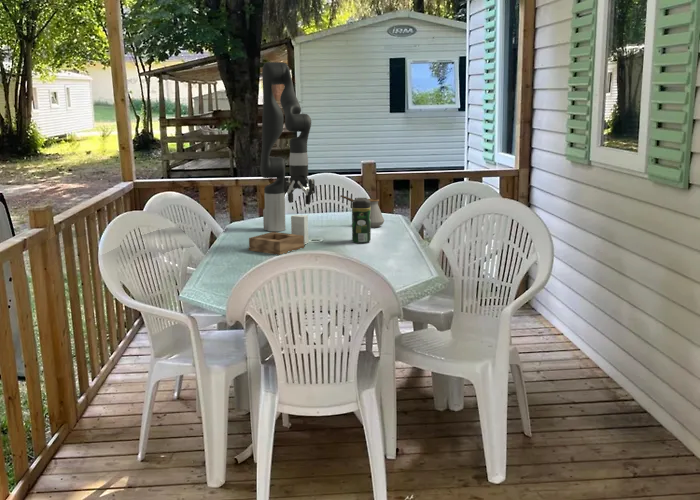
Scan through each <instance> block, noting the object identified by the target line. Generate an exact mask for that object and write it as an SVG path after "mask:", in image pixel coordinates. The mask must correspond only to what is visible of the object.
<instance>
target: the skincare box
mask: <svg viewBox="0 0 700 500" xmlns="http://www.w3.org/2000/svg"><path fill="white" fill-rule="evenodd" d="M290 220H291V221H290V222H291V224H290V225H291V229H290V230H291V232H290V234H295V235H302V236H304V245H305V244H306V245H308V244H309V216H308V214H307V215H306V214H304V215H303V214H293V215H291V216H290ZM307 243H308V244H307ZM306 245H305V246H306Z"/></svg>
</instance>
